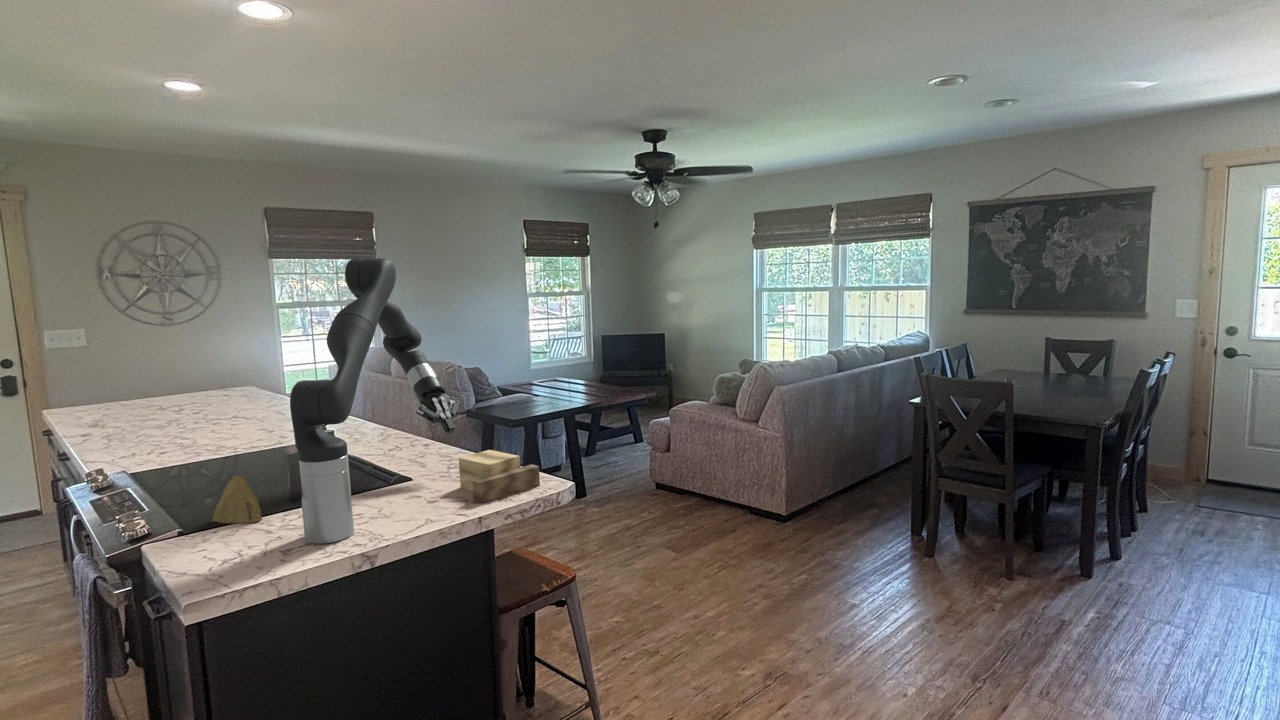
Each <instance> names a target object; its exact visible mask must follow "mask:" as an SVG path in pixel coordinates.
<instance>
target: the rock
mask: <svg viewBox="0 0 1280 720" xmlns="http://www.w3.org/2000/svg"><path fill="white" fill-rule="evenodd" d="M221 494H222V495H221V496H220V499H219V501H218V503H217V505H216V506H215V509H214V512H213V514H212V515H213V518H212V520H211V522H212V523H216V522H217V523H219V524H243V523H250V524H251V523H256V522H260V521H262V519H263V517H262V516H263V515H262V509H261V506H260V504H259V500H258V498H257V496H256V494H255V492H254V489H252V488H251V487H250V485H249V483H248V482H247V481H246V479H245V478H243V477H241V476H238V475H233V476H232V477H231V479H230V480H229V481H228V483H227V485H226V486H225V488H224V489H223V493H221Z"/></svg>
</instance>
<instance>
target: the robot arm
mask: <svg viewBox="0 0 1280 720" xmlns="http://www.w3.org/2000/svg"><path fill="white" fill-rule="evenodd" d="M344 279H345V283H346V285H347V288H348V289H349V291H350V293H352V295H353V296H354V297H355V298H356V299H354V300H353V301H352V302H349V303H347V305H346V306H344V307H343V308H342V309H341V310H339V312H337V314H336V315H335V316H334V318H333V321H332V323H331V325H330V327H329V330H328V332H327V336H326V344H327V348H328V351H329V353H330V354H331V357H332V359H333V360H334V362H335V363H336V365H337V372H336V374H335V377H334V378H332V379H326V380H325V379H323V380H322V379H321V380H320V379H319V380H318V379H317V380H301V381H299V382H297V383H295V384H294V385H293V387H292V389H291V392H290V397H289V409H290V410H289V411H290V416H291V417H290V418H291V423H292V428H293V437H294V443H295V448H296V451H297V454H298V460H299V462H298V463H299V472H300V473H299V474H300V484H301V485H300V486H301V495H302V496H301V499H300V501H301V510H302V521H303V522H302V523H303V534H304V543H305V545H309V544H317V545H318V544H329V543H335V542H339V541H342V540H345V539H347V538H349V537H351V536H352V535H354V532H355V527H354V515H353V512H354V511H353V503H352V490H351V479H350V477H351V476H350V466H349V465H350V464H349V454H348V452H349V451H348V444H347V442H346V440H344V439H343V438H340V437H337V436H334V435H332V434H330V433H328V432H326V431H325V430H324V429H323V428H322V427H321V426H327V425H339V424H343V423H344V422H346V420H347V419H348V417H349V416H350V413H351V411H352V407H353V405H354V400H355V397H356V392H357V387H358V385H359V384H358V383H359V381H360V380H359V379H360V377H361V372H362V368H363V365H364V363H365V360H366V357H367V355H368V351H369V350H370V347H371V345H372V343H373V342H372V341H373V339H374V336H375V332H376V329H377V325H379V327H380V329H381V331H382V333H383V334H384V337H383V338H382V345H383V348H384V350H385V351H386V353H387V354H389V355H390V356H391V357H392V358H393V359H395V361H397V363H398V364H399V366H401V368H402V370H403V372H404V373H405V375H406V377H407V380H408V382H409V385H410V388H411V389H412V391H413V392H414V394H415V396H416V398H417V400H418V402H419V404H420V405H419V406H418V408H417V409H416V414H417V415H418V416H420V417H422V418H424V419H426V420H427V421H429V422H430V423H432V424H436V423H438V424H439V425H440V426H441V427H442V429H443V431H444V432H445V433H446V434H447V435H450V434H453V433H454V432H455V430H456V424H455V423H454V421H453V420H454V418H455V416H456V415H457V411H458V408H459V404H460V400H459V399H454V400H453V399H450V397H449V395H448V394H446V390H445V388H444V386H443V384H442V382H441V380H440V379H439V377H438V375H437V373H436V372H435V369H434V368H433V367H432V366H431V364H430V363H429V361H428V359H427V357H426V355H425V354H424V353H423V352H422V351H421V350H414V349H416V348H418V347H419V346H420V345H421V344H422V335H421V333H420V331H419V330H418V329H417V327H415V326H414V325H412V323H410V322H408V320H407V319H406V316H405V315H404V312H403V311H402V309H401V308H400V306H399V305H398V304H397V303H395V302H394V301H393V300H391V299H390V297H391V295H392V292H393V290H394V288H395V284H396V280H397V271H396V267H395V265H394V263H393V262H392V261H391V260H390V259H388V258H384V257H383V258H382V257H357V258H351V259H349V261H348V262H347V263H346V266H345V269H344ZM450 409H451V410H450Z"/></svg>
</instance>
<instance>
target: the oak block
mask: <svg viewBox="0 0 1280 720" xmlns="http://www.w3.org/2000/svg"><path fill="white" fill-rule="evenodd" d="M458 466H459V467H458V469H459V483H460V489H465V490H469V491H471V490H472V492H473V482H472V481H473V480H477V479H481V478H484V477H488V476H491V475H495V474H499V473H502V472H506V471H510V470H513V469H517V468H520V467H521V457H520V455H517V454H512V453H507V452H504V451H503V452H502V451H499V450H494V449H493V450H492V449H487V450H483V451H479V452H475V453H472V454H468V455H465V456H461V457H459V458H458Z"/></svg>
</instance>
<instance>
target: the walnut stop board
mask: <svg viewBox="0 0 1280 720" xmlns="http://www.w3.org/2000/svg"><path fill="white" fill-rule="evenodd" d="M540 478H541V477H540V465H536V464H532V463H531V464H528V465H525V466H520V468H517V469H513V470H510V471H506V472H502V473H499V474H495V475H491V476H488V477H484V478H481V479H477V480H473V481H472V482H473V491H472V495H473V501H474V502H476V503H479V504H482V503H486V502H490V501H494V500H496V499H500V498H502V497H505V496H508V495H509V496H510V495H512V493H513V494H516V493H518V491H519V492H522V491H525V489H526V490H529V489H532V488H535V487H538V486H540V485H541V482H540V481H541V479H540ZM515 492H516V493H515Z"/></svg>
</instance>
